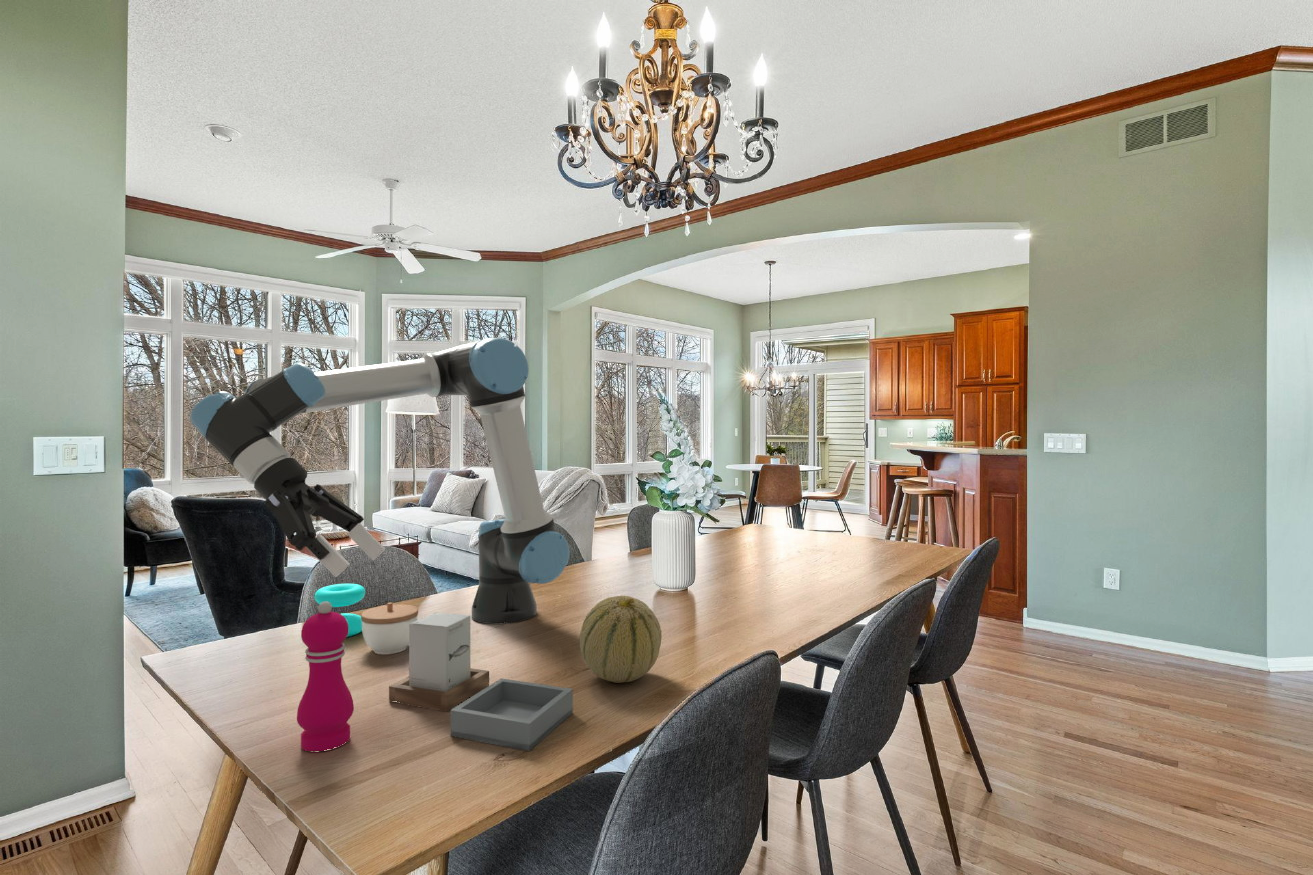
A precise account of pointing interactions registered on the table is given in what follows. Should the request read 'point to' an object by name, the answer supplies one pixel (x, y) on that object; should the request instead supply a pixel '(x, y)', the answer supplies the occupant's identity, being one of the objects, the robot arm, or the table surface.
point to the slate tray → (512, 713)
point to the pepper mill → (325, 682)
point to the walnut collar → (439, 692)
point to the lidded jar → (388, 627)
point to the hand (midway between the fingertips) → (362, 562)
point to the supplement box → (439, 651)
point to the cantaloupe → (620, 639)
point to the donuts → (343, 602)
